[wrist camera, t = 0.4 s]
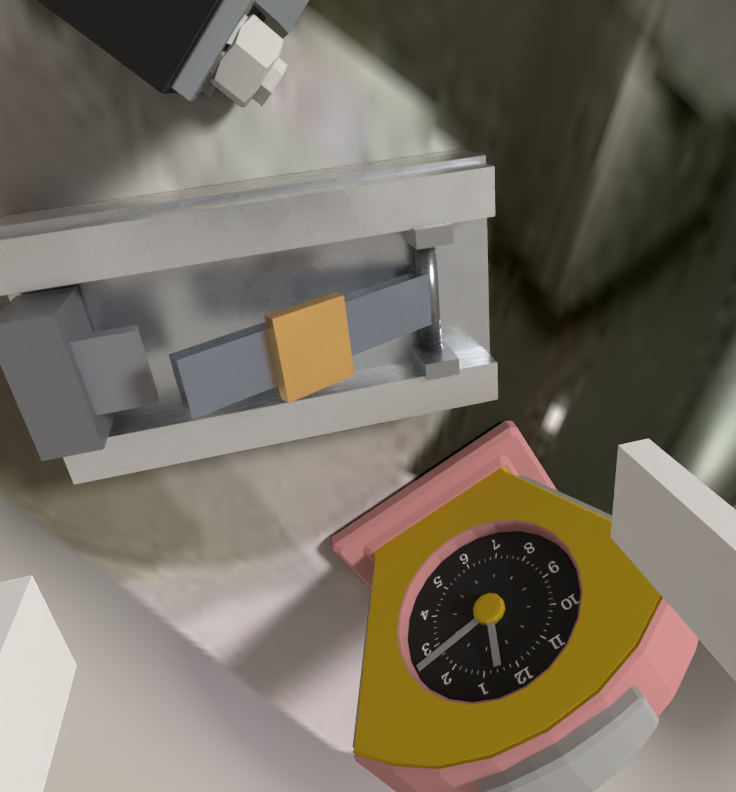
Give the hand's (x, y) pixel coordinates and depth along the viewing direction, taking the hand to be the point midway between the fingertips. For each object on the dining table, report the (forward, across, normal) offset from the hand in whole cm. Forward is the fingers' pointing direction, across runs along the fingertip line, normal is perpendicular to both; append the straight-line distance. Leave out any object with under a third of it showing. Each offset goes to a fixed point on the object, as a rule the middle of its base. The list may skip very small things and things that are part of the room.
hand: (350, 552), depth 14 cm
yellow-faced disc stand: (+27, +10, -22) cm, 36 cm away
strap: (+19, +1, -2) cm, 20 cm away
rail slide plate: (+27, -1, -2) cm, 27 cm away
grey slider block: (+23, -10, -2) cm, 25 cm away
